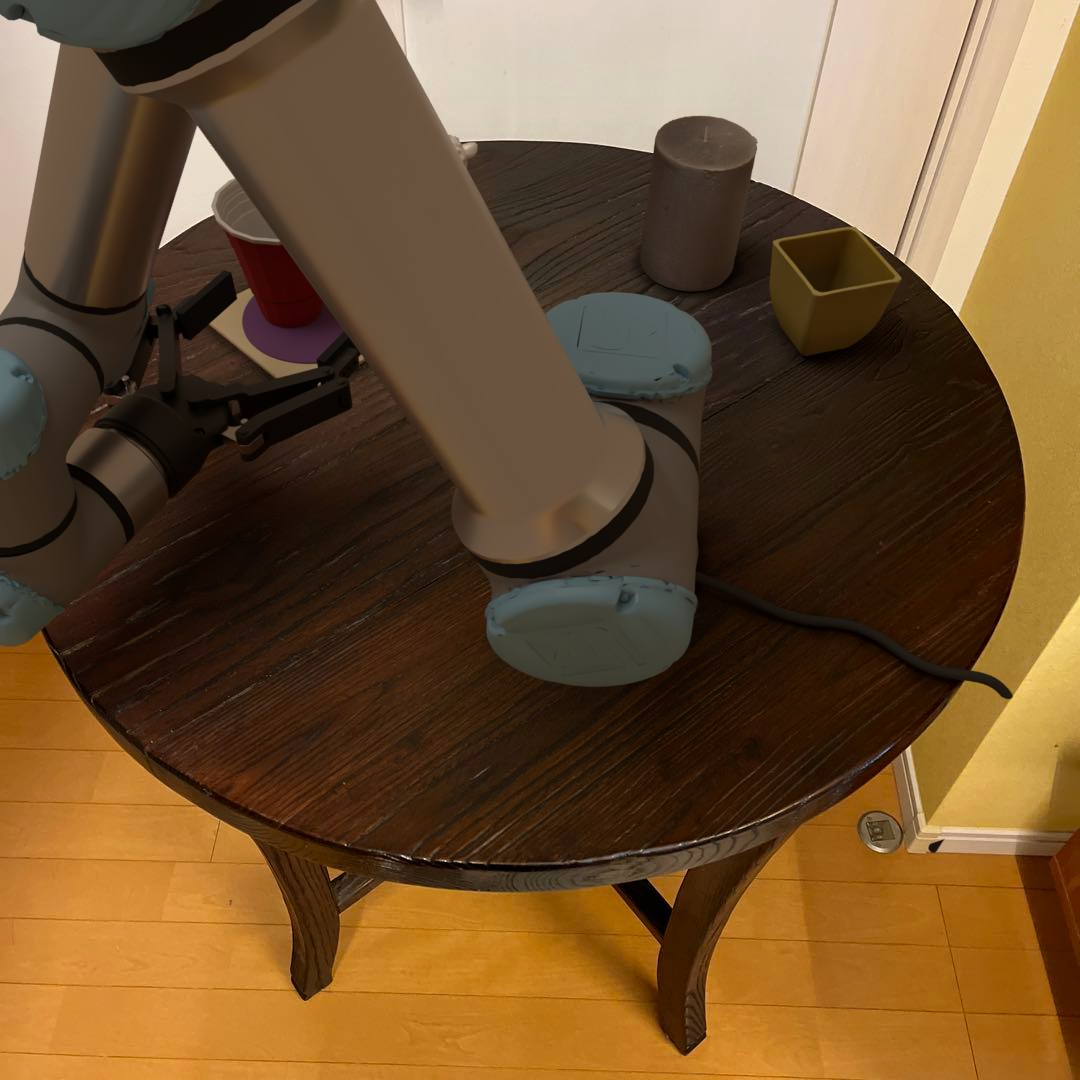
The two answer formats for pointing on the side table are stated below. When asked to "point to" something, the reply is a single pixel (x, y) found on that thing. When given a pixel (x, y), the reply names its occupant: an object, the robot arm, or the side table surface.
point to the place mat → (276, 337)
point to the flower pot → (829, 288)
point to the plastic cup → (265, 261)
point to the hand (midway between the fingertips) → (297, 305)
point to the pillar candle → (696, 201)
